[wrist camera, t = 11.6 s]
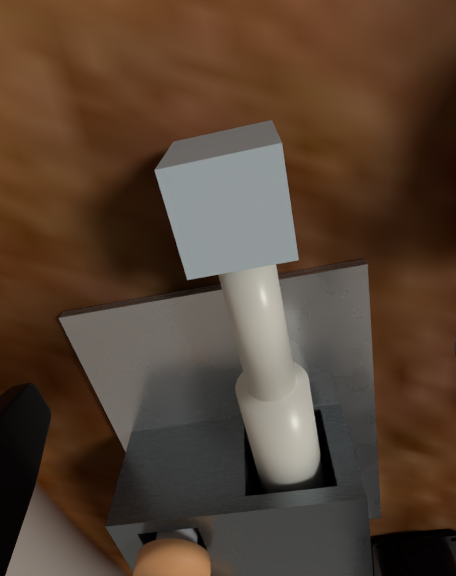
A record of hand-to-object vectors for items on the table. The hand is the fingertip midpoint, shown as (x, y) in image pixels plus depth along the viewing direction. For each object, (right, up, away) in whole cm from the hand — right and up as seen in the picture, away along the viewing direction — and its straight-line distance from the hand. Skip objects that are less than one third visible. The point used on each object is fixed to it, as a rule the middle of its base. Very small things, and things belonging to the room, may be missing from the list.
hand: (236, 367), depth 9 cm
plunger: (-3, -11, +15) cm, 19 cm away
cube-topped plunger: (+2, 0, +13) cm, 13 cm away
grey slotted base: (+1, -7, +18) cm, 19 cm away
